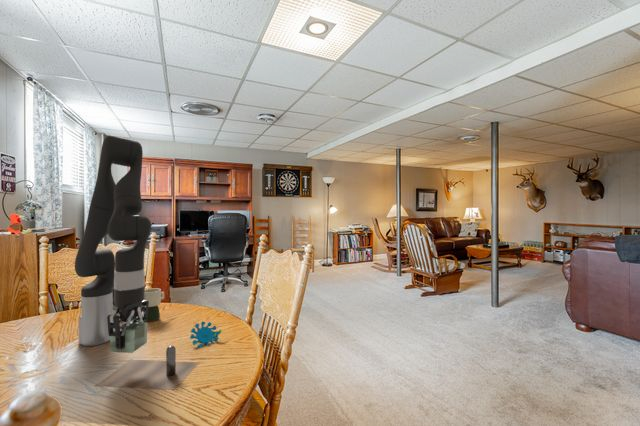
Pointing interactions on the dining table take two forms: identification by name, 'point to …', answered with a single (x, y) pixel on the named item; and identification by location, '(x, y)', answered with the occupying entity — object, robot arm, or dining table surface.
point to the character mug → (153, 303)
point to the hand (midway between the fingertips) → (129, 342)
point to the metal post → (170, 361)
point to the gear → (205, 334)
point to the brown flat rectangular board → (148, 375)
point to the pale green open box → (131, 338)
